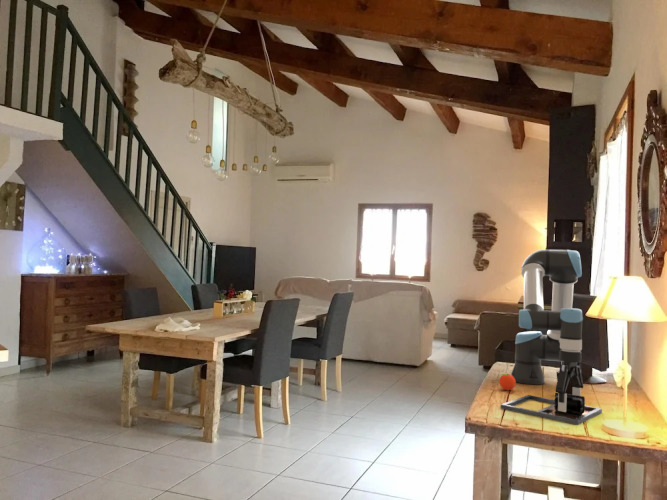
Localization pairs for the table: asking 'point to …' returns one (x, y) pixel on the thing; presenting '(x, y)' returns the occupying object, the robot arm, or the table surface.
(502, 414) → the table surface
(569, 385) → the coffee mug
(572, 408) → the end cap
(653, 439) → the table surface
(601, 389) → the table surface
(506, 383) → the clementine
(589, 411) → the divided grey frame
